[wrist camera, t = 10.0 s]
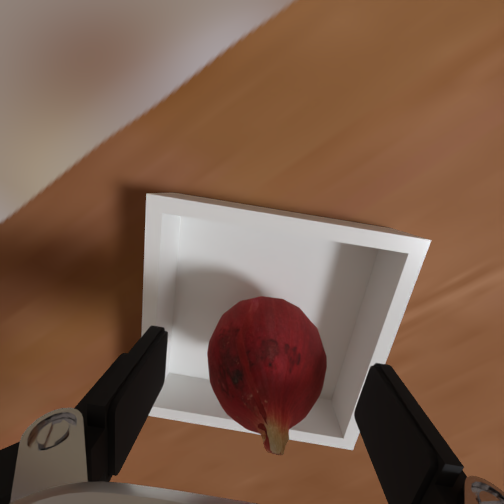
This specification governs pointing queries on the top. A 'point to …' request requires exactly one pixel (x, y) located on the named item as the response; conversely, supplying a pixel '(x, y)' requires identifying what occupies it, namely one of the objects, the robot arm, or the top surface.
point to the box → (276, 286)
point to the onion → (266, 367)
